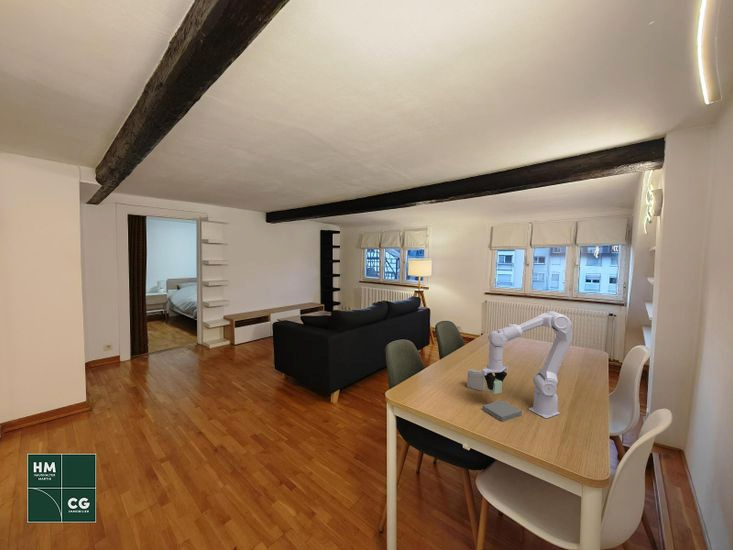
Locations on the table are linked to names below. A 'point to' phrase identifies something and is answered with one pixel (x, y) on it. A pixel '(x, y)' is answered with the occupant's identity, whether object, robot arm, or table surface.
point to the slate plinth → (501, 410)
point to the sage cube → (496, 387)
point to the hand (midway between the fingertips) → (494, 388)
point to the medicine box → (475, 380)
